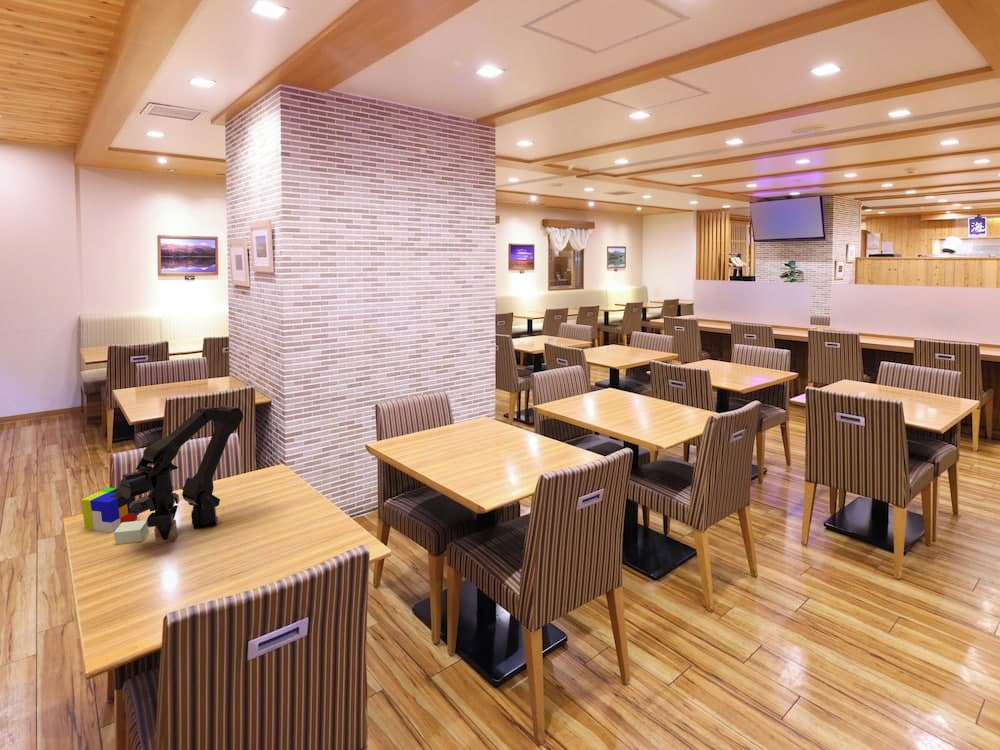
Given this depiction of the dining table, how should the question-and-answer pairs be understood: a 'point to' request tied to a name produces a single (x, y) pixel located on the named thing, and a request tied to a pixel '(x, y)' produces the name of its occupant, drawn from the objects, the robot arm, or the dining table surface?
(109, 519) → the puzzle toy
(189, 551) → the dining table surface
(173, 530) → the walnut cube
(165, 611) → the dining table surface
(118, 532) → the base block
